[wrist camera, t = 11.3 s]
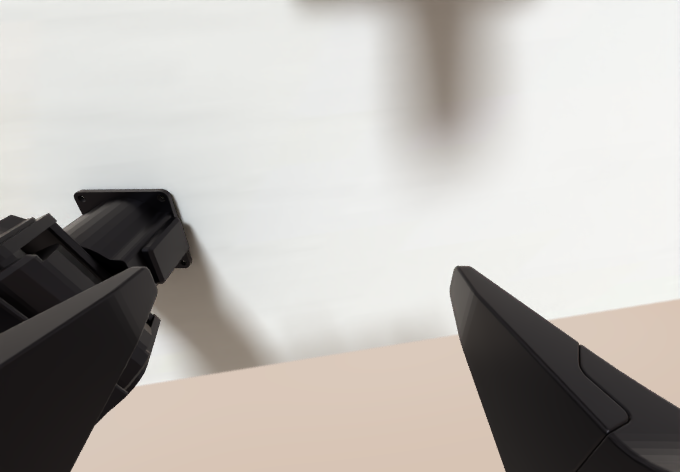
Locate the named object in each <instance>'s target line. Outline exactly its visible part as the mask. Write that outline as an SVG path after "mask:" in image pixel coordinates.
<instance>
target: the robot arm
mask: <svg viewBox="0 0 680 472" xmlns="http://www.w3.org/2000/svg"><path fill="white" fill-rule="evenodd" d="M160 195H162V196H164V198H165V199H163V198H161V196H160ZM82 196H83V197H84V198H85V199H84V198H83V197H82ZM74 199H75V201H76V203H77V205H78V207H79V209H80V211H81V213H82V216H80V217H79V218H78V219H76V220H75V221H73V222H72V223H70V224H69V225H67V226H66V227H65V228H63V229H62V228H61V227H60V226H59V225H58V224H57V223H56V222H57V220H56V219H55V218H53V217H52V216H51V215H50V214H49V213H48V214H46V215H44V216H42V217H40V218H38V219H35V218H34V217H32V218H30V219H24V218H20V217H17V216H13V215H10V216H8V217H6V218H4V219H2V220H0V472H70V471H71V469H72V468H73V466H74V464H75V462H76V460H77V458H78V456H79V454H80V452H81V450H82V448H83V447H84V445H85V443H86V441H87V439H88V437H89V435H90V433H91V431H92V429H93V428H94V426H95V425H96V424H97V423H98V422H99V421H100V419H102V418H103V416H105V415H106V413H107V412H109V411H110V410H111V409H112V408H114V407H115V406H116V405H117V404H118V403H119V402H120V401H122V400H123V399H124V398H125V397H126V396H127V395H128V394H129V393H130V391H131V390H132V389H133V388H134V387H135V386H136V384H137V383H138V382H139V380H140V379H141V377H142V376H143V374H144V372H145V370H146V368H147V365H148V362H149V358H150V355H151V352H152V348H153V345H154V342H155V338H156V335H157V331H158V328H159V325H160V321H161V320H160V319H159V318H158V317H157V316H156V315H155V314H154V315H152V314H151V313H150V311H151V309H152V306H153V304H154V301H155V299H156V296H157V287H156V286H157V285H158V284H163V283H164V282H165V281H166V279H167V278H168V277H169V275H170V274H171V273H172V271H173V270H174V268H187V267H189V266H190V264H191V263H192V259H191V256H190V253H189V250H188V249H189V245H188V242H187V239H186V235H185V232H184V229H183V226H182V223H181V220H180V219H179V218H178V215H177V212H176V209H175V206H174V203H173V200H172V197H171V195H170V193H169V192H168V191H166V190H164V189H110V190H80V191H78V192H76V193H75V194H74ZM183 260H184V261H186V262H184V261H183ZM450 298H451V302H452V307H453V311H454V316H455V320H456V325H457V329H458V334H459V338H460V341H461V345H462V348H463V351H464V354H465V357H466V360H467V363H468V366H469V368H470V371H471V374H472V377H473V380H474V383H475V385H476V388H477V391H478V394H479V397H480V400H481V402H482V405H483V408H484V411H485V414H486V417H487V419H488V422H489V425H490V428H491V431H492V434H493V437H494V440H495V442H496V445H497V448H498V451H499V454H500V457H501V460H502V462H503V465H504V468H505V471H506V472H680V408H678V407H676V406H675V405H673V404H672V403H670V402H668V401H667V400H665V399H663V398H662V397H660V396H659V395H657V394H656V393H654V392H652V391H651V390H649V389H647V388H646V387H644V386H643V385H641V384H639V383H638V382H636V381H635V380H633V379H632V378H630V377H629V376H627V375H626V374H624V373H622V372H621V371H619V370H618V369H616V368H615V367H613V366H612V365H610V364H609V363H608V362H606V361H605V360H603V359H602V358H600V357H599V356H597V355H596V354H594V353H593V352H592V351H590V350H589V349H587V348H586V347H584V346H583V345H579V343H578V342H577V341H576V340H574V339H573V338H571V337H570V336H569V335H567V334H566V333H564V332H563V331H562V330H560V329H559V328H557V327H556V326H554V325H553V324H552V323H550V322H549V321H547V320H546V319H545V318H543V317H542V316H540V315H539V314H537V313H536V312H535V311H533V310H532V309H530V308H529V307H527V306H526V305H525V304H523V303H522V302H520V301H519V300H518V299H516V298H515V297H513V296H512V295H510V294H509V293H508V292H506V291H505V290H503V289H502V288H500V287H499V286H498V285H496V284H495V283H493V282H492V281H491V280H489V279H488V278H486V277H485V276H483V275H482V274H481V273H479V272H478V271H476V270H475V269H474V268H472V267H470V266H457V267H455V269H454V271H453V276H452V280H451V285H450Z"/></svg>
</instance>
